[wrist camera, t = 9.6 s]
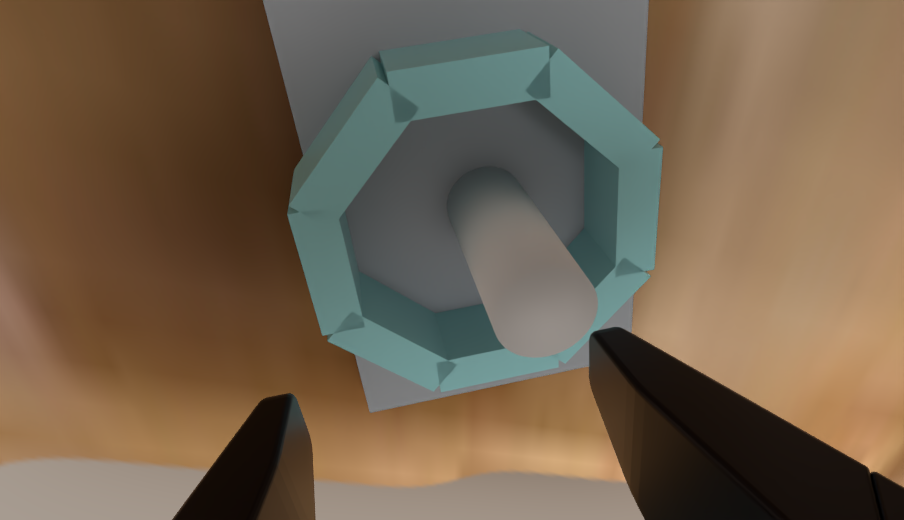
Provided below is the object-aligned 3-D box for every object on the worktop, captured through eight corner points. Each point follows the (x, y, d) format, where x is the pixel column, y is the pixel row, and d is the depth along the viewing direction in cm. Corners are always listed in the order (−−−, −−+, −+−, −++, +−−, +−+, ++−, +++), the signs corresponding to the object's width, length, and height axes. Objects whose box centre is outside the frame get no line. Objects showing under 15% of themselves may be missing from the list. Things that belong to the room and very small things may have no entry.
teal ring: (626, 12, 16) (671, 26, 14) (616, 304, 21) (648, 348, 19) (262, 69, 15) (252, 93, 13) (343, 360, 20) (345, 412, 18)
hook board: (628, -101, 16) (825, -115, 10) (613, 333, 24) (718, 486, 17) (257, -49, 15) (202, -28, 9) (368, 385, 23) (381, 566, 16)
